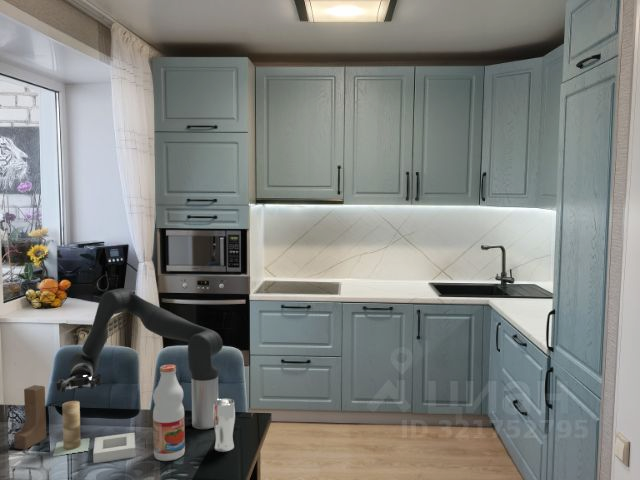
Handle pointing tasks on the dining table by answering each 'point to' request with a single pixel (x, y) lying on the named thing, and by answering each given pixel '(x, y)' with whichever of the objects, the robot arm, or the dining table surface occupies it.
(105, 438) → the white square frame
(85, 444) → the sage mat
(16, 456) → the dining table surface
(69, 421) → the wooden peg
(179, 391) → the fruit juice
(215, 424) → the beer glass
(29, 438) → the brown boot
